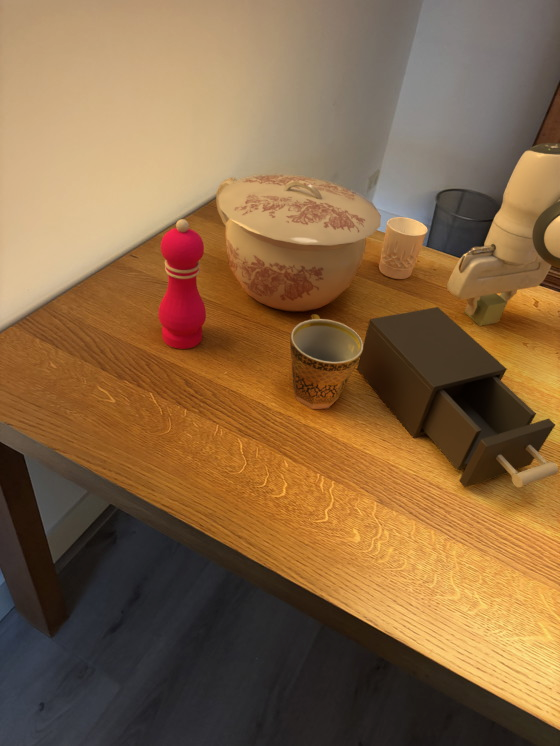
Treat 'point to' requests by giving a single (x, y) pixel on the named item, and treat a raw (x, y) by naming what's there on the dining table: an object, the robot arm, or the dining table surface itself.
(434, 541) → the dining table surface
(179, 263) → the pepper mill
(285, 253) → the chamber pot
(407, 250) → the white cup
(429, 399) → the drawer box
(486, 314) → the block
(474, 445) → the dark brown drawer
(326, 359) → the ceramic cup
